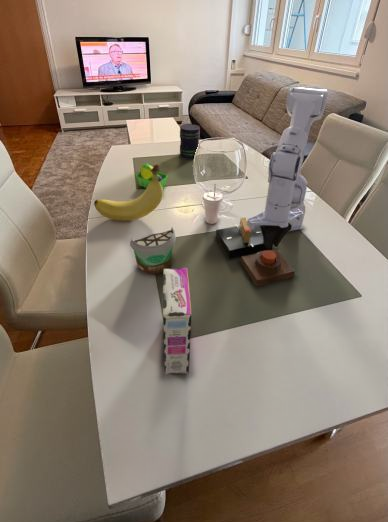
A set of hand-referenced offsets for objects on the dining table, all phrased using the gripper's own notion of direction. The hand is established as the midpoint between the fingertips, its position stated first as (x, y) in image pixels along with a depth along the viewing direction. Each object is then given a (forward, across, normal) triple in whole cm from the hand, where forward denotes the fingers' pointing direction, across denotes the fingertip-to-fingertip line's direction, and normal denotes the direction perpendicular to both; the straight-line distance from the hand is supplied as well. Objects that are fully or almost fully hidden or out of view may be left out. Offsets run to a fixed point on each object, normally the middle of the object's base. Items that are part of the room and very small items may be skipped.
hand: (270, 245), depth 77 cm
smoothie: (+9, -6, +26) cm, 28 cm away
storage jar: (+9, +4, +83) cm, 84 cm away
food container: (+9, -28, +9) cm, 31 cm away
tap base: (+8, -1, +12) cm, 15 cm away
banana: (+9, -32, +35) cm, 48 cm away
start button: (+5, 0, 0) cm, 5 cm away
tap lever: (+5, -1, +12) cm, 13 cm away
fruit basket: (+9, -21, +55) cm, 59 cm away
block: (+8, 0, 0) cm, 8 cm away
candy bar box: (+9, -29, -14) cm, 33 cm away
